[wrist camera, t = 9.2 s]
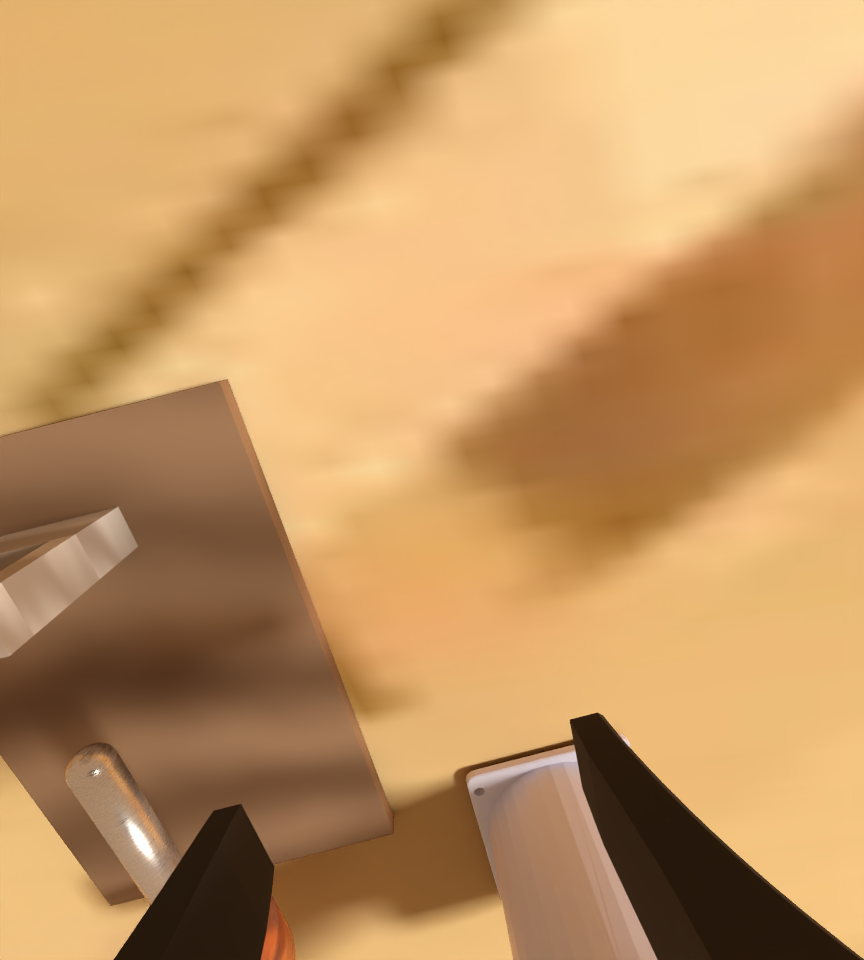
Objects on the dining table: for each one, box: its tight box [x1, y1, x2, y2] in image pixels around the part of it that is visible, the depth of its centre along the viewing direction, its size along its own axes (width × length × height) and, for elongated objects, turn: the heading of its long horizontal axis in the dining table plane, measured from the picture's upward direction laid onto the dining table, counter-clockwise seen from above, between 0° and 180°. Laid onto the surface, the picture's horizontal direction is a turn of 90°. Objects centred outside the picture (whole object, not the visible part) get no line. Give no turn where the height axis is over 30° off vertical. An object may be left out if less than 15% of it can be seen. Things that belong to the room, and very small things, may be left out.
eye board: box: [0, 379, 394, 906], centre depth 16 cm, size 22×14×7 cm, turn 14°
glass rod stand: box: [65, 742, 295, 960], centre depth 17 cm, size 13×5×5 cm, turn 14°
